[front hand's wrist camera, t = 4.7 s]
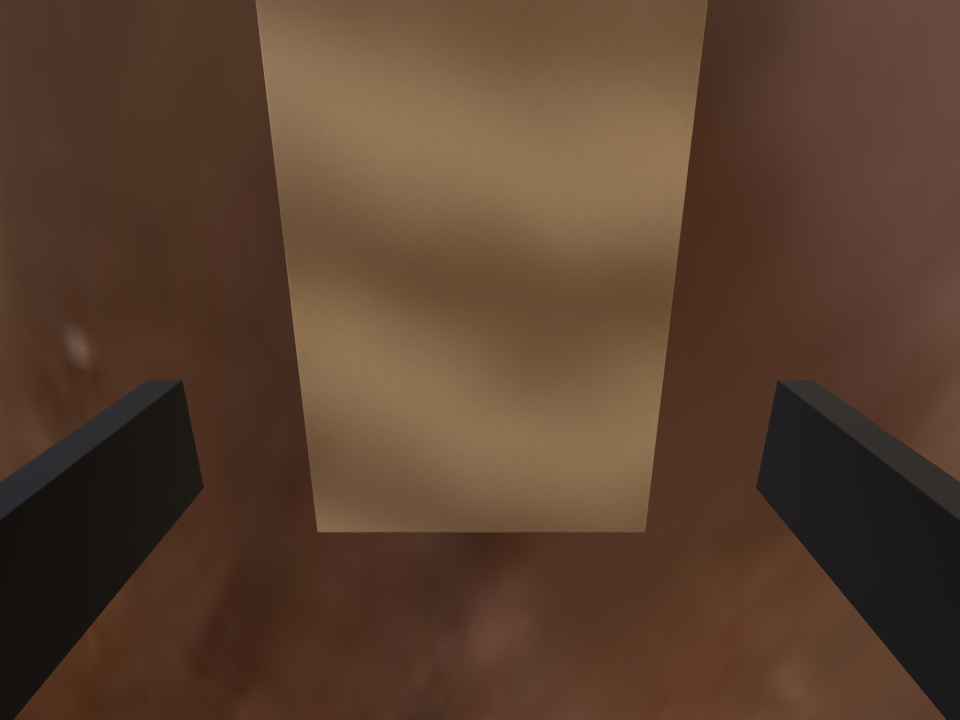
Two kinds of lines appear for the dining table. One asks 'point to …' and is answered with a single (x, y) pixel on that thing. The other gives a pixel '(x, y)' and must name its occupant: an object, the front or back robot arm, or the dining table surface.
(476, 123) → the tan wooden block
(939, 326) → the dining table surface
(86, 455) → the front robot arm
